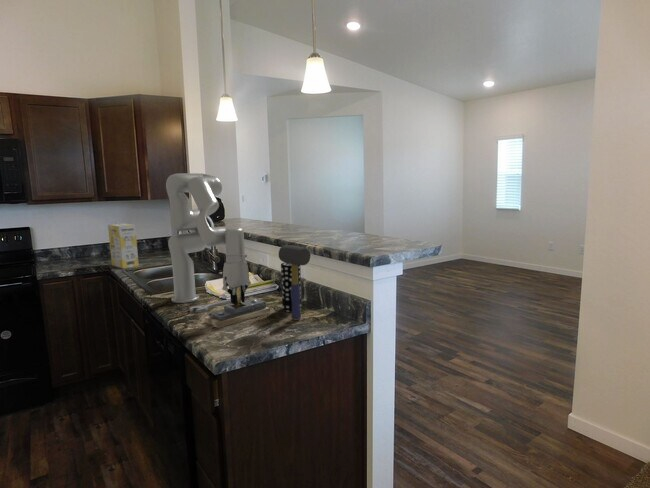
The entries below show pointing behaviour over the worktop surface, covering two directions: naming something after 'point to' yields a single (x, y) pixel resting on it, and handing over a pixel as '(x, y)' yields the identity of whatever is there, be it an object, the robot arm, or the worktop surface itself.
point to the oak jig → (236, 318)
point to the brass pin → (238, 297)
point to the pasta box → (123, 245)
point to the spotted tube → (288, 286)
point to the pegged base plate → (238, 309)
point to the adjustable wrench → (209, 306)
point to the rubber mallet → (295, 272)
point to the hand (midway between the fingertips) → (237, 302)
